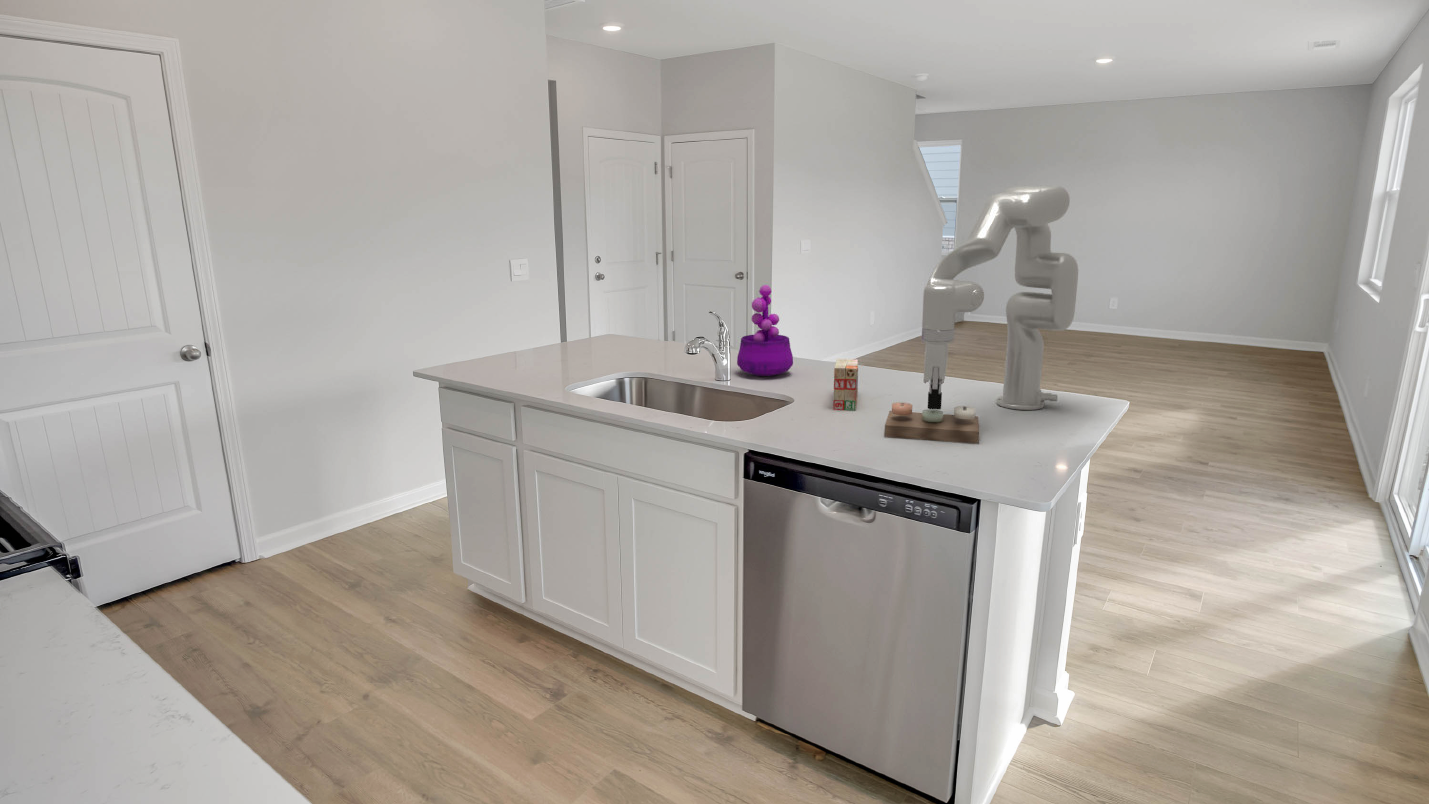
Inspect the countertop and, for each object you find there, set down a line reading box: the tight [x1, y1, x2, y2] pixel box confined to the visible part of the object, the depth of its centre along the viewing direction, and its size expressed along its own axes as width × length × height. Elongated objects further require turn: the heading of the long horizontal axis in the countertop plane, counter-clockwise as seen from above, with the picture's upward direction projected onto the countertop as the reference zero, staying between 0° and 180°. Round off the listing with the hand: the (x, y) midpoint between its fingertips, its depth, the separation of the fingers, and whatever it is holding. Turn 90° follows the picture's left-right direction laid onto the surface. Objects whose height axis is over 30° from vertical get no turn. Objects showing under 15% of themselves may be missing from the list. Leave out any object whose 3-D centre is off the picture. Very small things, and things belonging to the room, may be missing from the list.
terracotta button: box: [891, 401, 913, 415], centre depth 196 cm, size 5×5×2 cm
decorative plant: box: [736, 284, 794, 377], centre depth 259 cm, size 19×19×30 cm
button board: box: [883, 410, 980, 444], centre depth 195 cm, size 22×14×3 cm, turn 73°
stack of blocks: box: [832, 358, 859, 412], centre depth 225 cm, size 21×6×12 cm, turn 169°
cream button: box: [953, 405, 976, 419], centre depth 191 cm, size 5×5×2 cm
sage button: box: [921, 408, 944, 422], centre depth 194 cm, size 5×5×2 cm
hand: (934, 408), depth 194 cm, fingers closed
